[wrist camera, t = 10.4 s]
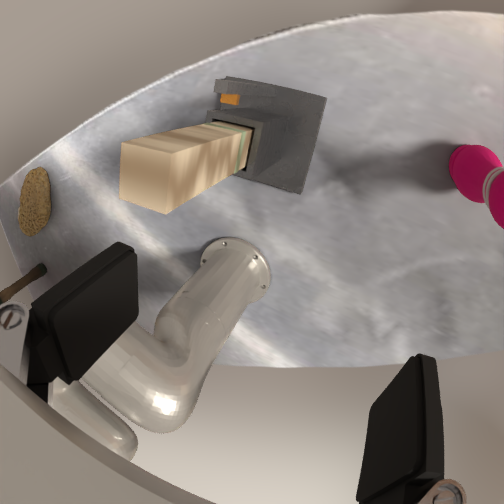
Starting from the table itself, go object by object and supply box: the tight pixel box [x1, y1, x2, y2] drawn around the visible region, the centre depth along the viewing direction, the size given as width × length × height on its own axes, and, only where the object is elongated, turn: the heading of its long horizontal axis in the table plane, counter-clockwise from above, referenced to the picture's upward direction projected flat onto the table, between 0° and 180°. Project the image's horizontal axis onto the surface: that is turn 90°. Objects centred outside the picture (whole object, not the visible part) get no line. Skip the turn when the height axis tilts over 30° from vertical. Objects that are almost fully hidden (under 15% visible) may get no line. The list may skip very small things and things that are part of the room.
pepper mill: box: [449, 145, 504, 229], centre depth 26 cm, size 7×7×20 cm
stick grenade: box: [0, 264, 47, 305], centre depth 65 cm, size 8×9×30 cm
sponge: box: [18, 167, 51, 236], centre depth 62 cm, size 13×8×20 cm
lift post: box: [119, 121, 255, 214], centre depth 27 cm, size 4×4×20 cm
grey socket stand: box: [205, 76, 327, 195], centre depth 34 cm, size 14×14×18 cm
